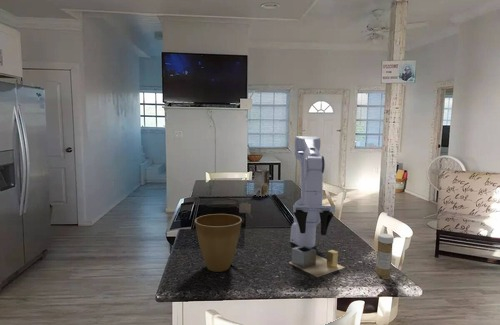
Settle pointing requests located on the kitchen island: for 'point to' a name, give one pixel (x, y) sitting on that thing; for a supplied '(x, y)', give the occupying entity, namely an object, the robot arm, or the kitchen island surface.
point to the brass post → (332, 258)
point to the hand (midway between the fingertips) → (312, 234)
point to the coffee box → (261, 182)
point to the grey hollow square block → (303, 256)
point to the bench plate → (320, 267)
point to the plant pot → (218, 239)
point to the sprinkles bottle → (384, 255)
